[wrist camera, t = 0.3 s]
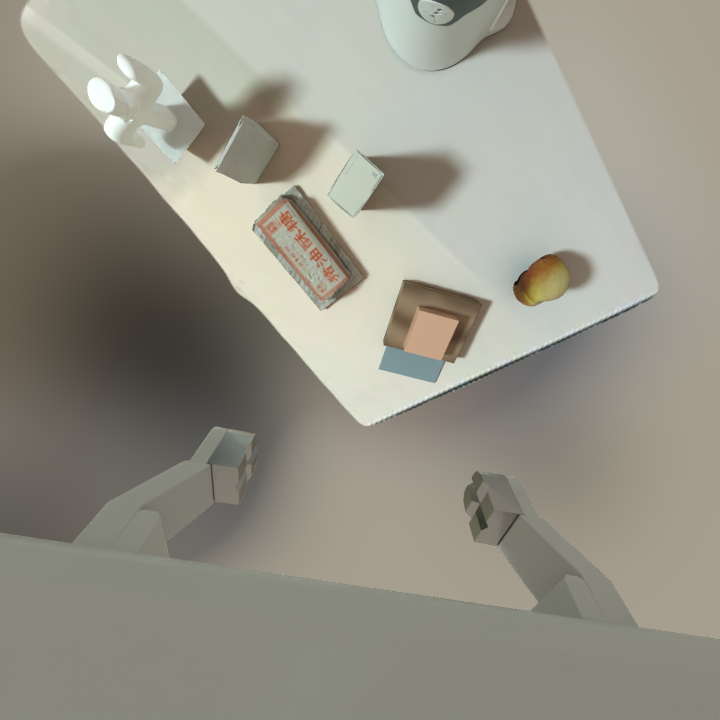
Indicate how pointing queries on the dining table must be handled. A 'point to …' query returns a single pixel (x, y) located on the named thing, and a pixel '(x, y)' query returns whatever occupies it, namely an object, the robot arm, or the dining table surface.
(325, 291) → the packaged product
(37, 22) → the dining table surface
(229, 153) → the grey block
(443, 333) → the terracotta tile
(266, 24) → the dining table surface
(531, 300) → the fruit
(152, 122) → the figurine
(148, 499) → the robot arm
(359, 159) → the skincare box
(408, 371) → the slate mat
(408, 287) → the walnut stand
